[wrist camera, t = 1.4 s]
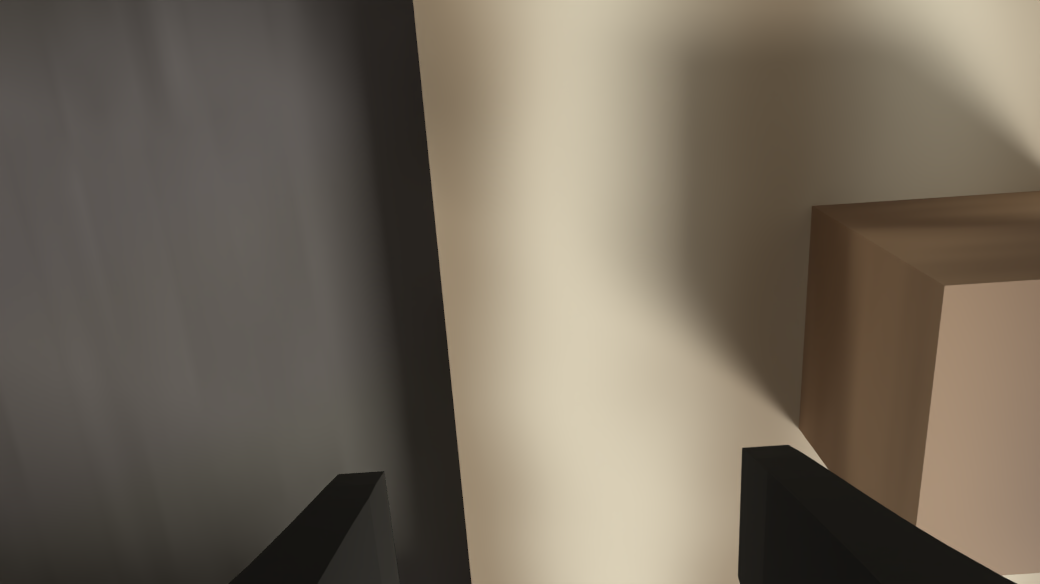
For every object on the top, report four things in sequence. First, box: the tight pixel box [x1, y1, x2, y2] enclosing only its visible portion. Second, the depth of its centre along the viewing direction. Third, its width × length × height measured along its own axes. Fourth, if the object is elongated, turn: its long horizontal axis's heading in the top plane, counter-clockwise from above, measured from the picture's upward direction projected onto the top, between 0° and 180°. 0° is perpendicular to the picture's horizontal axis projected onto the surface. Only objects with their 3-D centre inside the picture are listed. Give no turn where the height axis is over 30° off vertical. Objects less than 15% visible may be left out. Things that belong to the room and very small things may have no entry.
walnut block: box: [799, 191, 1040, 575], centre depth 14 cm, size 5×5×5 cm
